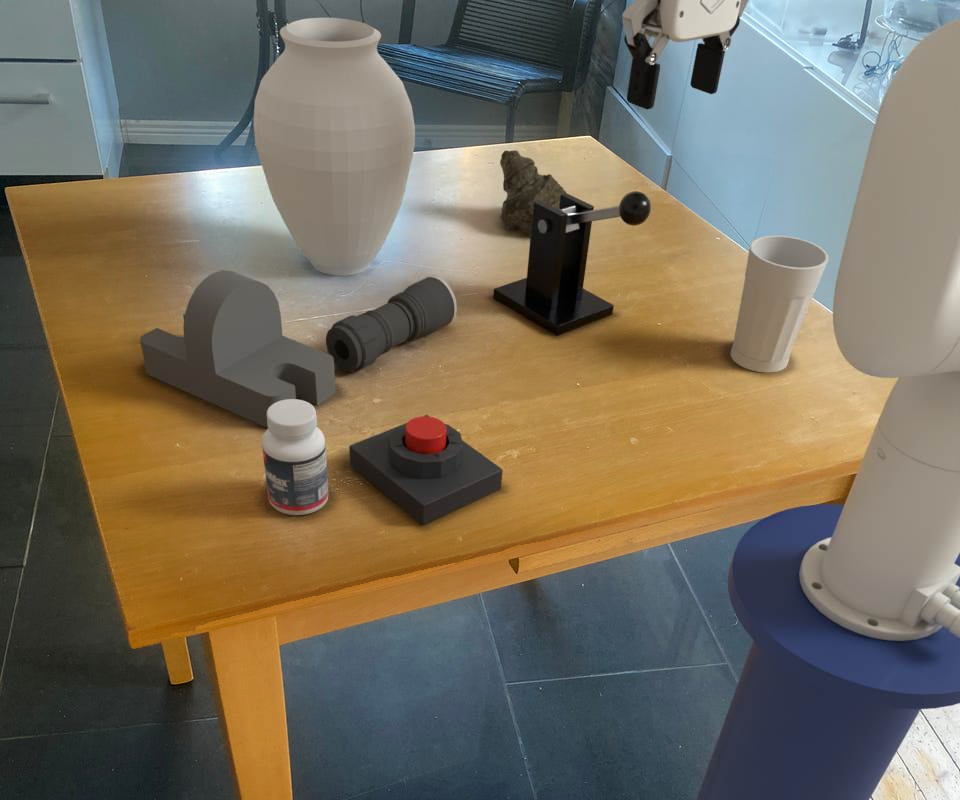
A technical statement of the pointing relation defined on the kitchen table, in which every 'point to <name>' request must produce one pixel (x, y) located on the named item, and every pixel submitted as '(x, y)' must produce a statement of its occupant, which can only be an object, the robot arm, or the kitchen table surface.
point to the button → (425, 435)
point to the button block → (425, 473)
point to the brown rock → (525, 190)
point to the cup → (775, 300)
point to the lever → (612, 212)
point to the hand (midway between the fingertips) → (672, 97)
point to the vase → (334, 141)
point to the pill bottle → (295, 458)
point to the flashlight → (391, 323)
